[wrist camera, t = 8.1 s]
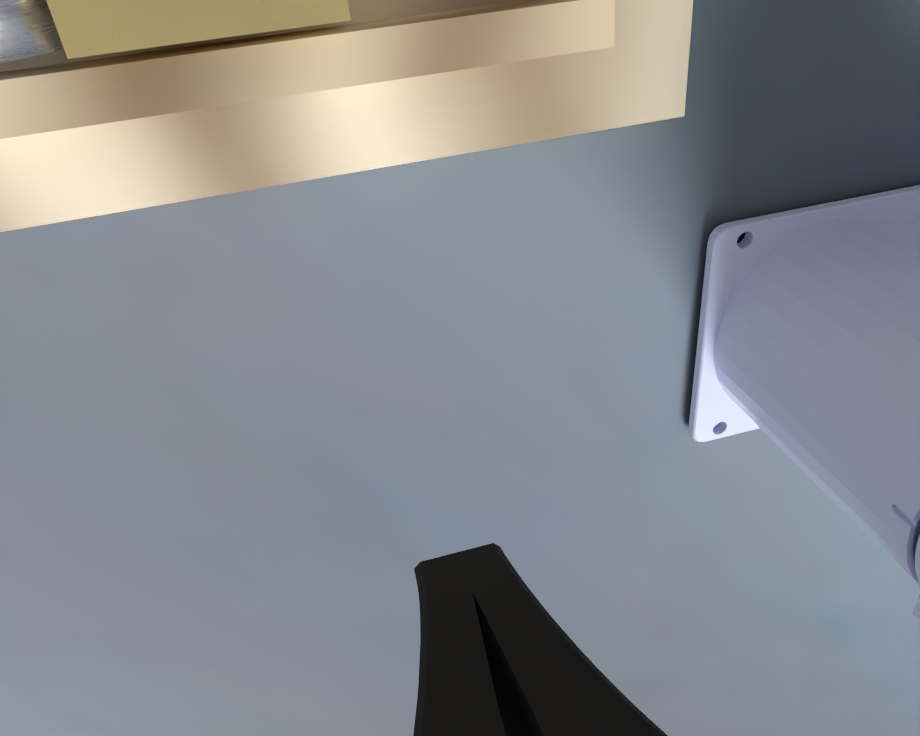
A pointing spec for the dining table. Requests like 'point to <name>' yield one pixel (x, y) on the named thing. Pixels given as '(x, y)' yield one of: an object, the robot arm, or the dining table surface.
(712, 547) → the dining table surface
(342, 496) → the dining table surface
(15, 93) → the jig board
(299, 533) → the dining table surface
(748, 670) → the dining table surface
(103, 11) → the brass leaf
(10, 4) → the panel
